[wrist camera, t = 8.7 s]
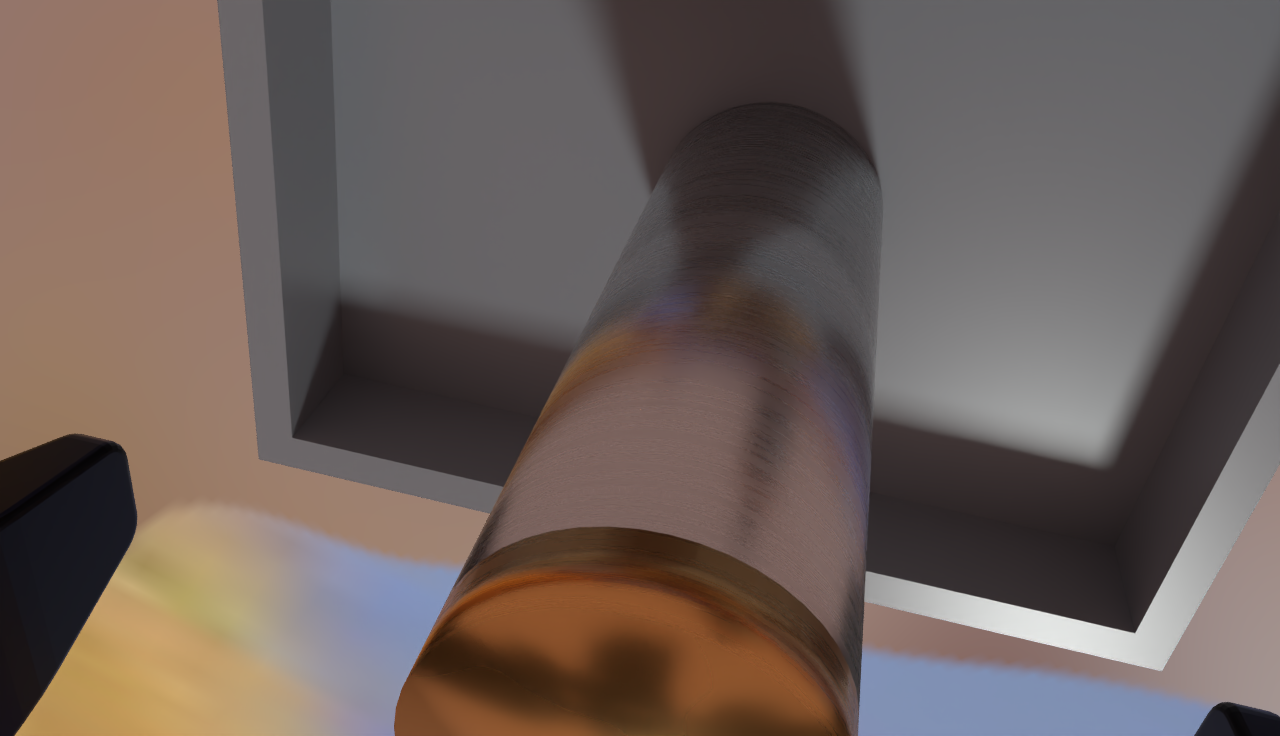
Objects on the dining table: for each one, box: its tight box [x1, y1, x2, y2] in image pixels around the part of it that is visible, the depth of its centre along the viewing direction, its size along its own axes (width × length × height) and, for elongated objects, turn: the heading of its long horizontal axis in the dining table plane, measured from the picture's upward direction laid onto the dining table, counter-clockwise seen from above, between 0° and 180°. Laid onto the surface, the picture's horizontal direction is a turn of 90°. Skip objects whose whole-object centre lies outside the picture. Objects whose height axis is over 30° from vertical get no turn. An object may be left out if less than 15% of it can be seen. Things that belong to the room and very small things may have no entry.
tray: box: [217, 0, 1280, 671], centre depth 15 cm, size 14×10×2 cm
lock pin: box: [394, 102, 883, 736], centre depth 12 cm, size 3×3×10 cm
